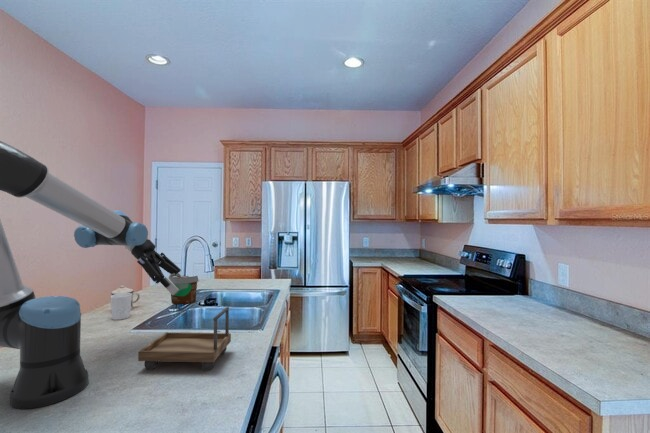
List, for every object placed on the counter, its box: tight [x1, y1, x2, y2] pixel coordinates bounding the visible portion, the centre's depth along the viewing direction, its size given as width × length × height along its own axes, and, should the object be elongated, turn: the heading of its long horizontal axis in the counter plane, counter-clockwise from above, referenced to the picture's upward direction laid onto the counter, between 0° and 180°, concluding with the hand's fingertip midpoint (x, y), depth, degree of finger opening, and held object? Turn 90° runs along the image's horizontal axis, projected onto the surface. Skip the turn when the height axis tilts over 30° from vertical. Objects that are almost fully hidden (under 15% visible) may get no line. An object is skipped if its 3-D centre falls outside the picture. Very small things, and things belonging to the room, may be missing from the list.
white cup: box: [110, 293, 132, 321], centre depth 139 cm, size 8×8×10 cm
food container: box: [167, 273, 199, 306], centre depth 114 cm, size 12×6×10 cm, turn 67°
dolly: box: [137, 306, 232, 372], centre depth 97 cm, size 15×22×15 cm
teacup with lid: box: [110, 285, 140, 311], centre depth 151 cm, size 12×9×12 cm
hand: (182, 289), depth 115 cm, fingers closed on food container, 8 cm apart
